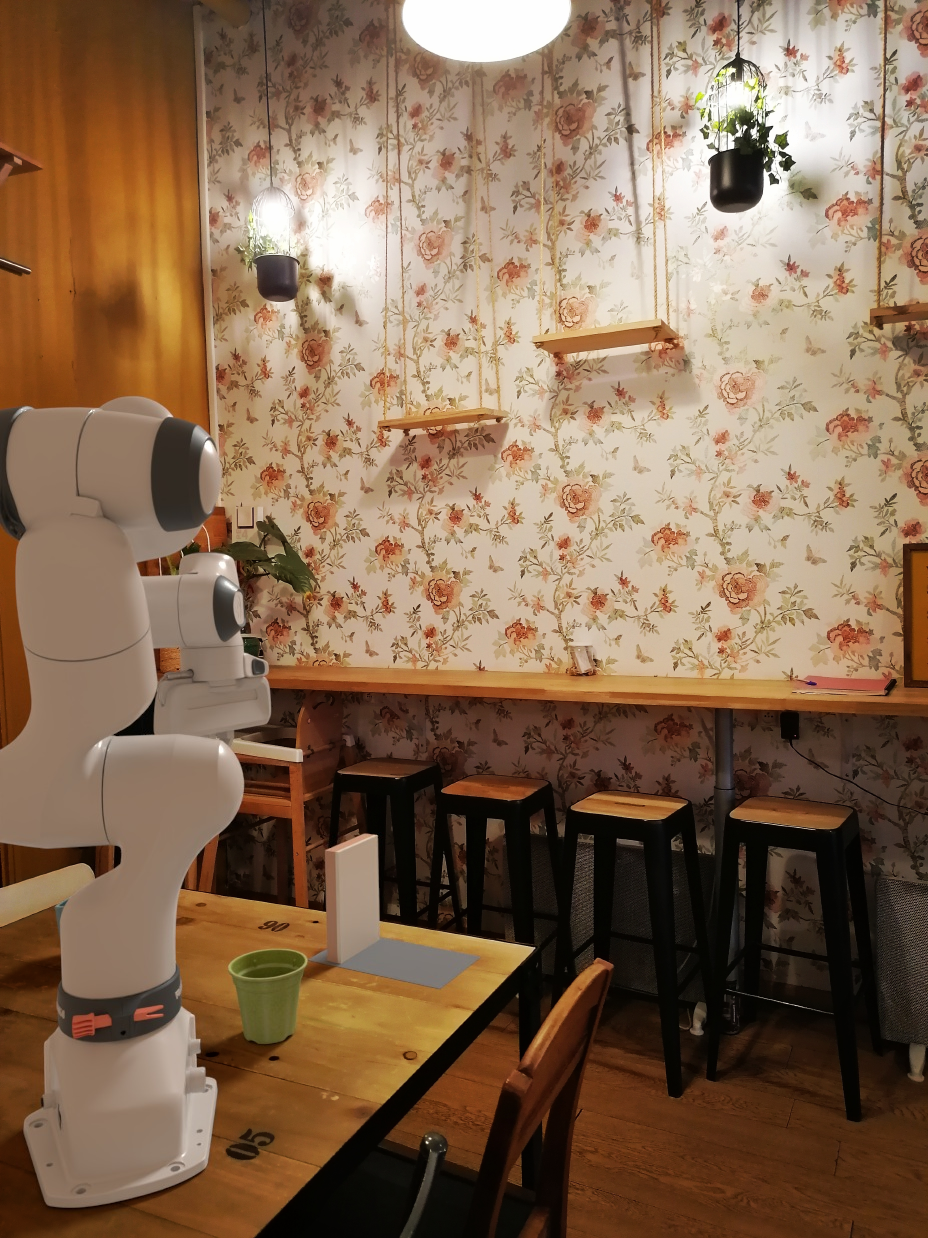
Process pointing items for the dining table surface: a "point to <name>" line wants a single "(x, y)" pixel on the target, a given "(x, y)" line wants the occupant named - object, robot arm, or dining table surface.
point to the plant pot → (268, 992)
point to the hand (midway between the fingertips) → (217, 764)
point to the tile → (352, 897)
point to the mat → (406, 962)
